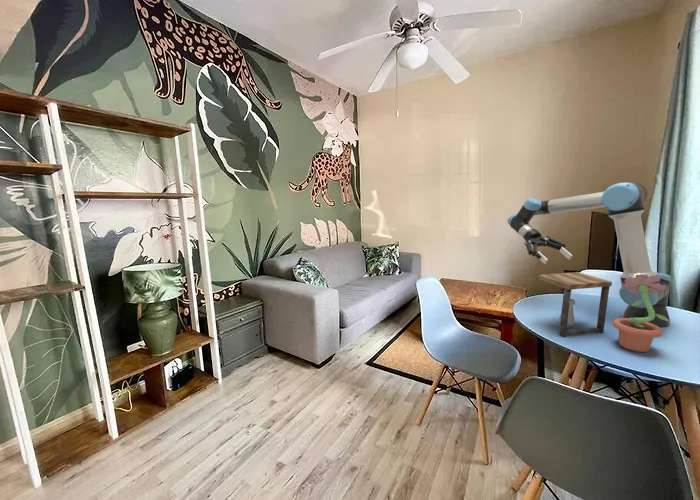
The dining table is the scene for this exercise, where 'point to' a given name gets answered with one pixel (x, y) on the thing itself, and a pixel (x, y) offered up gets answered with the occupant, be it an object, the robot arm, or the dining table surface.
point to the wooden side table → (569, 283)
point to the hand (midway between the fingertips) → (558, 259)
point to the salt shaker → (570, 314)
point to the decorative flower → (639, 330)
